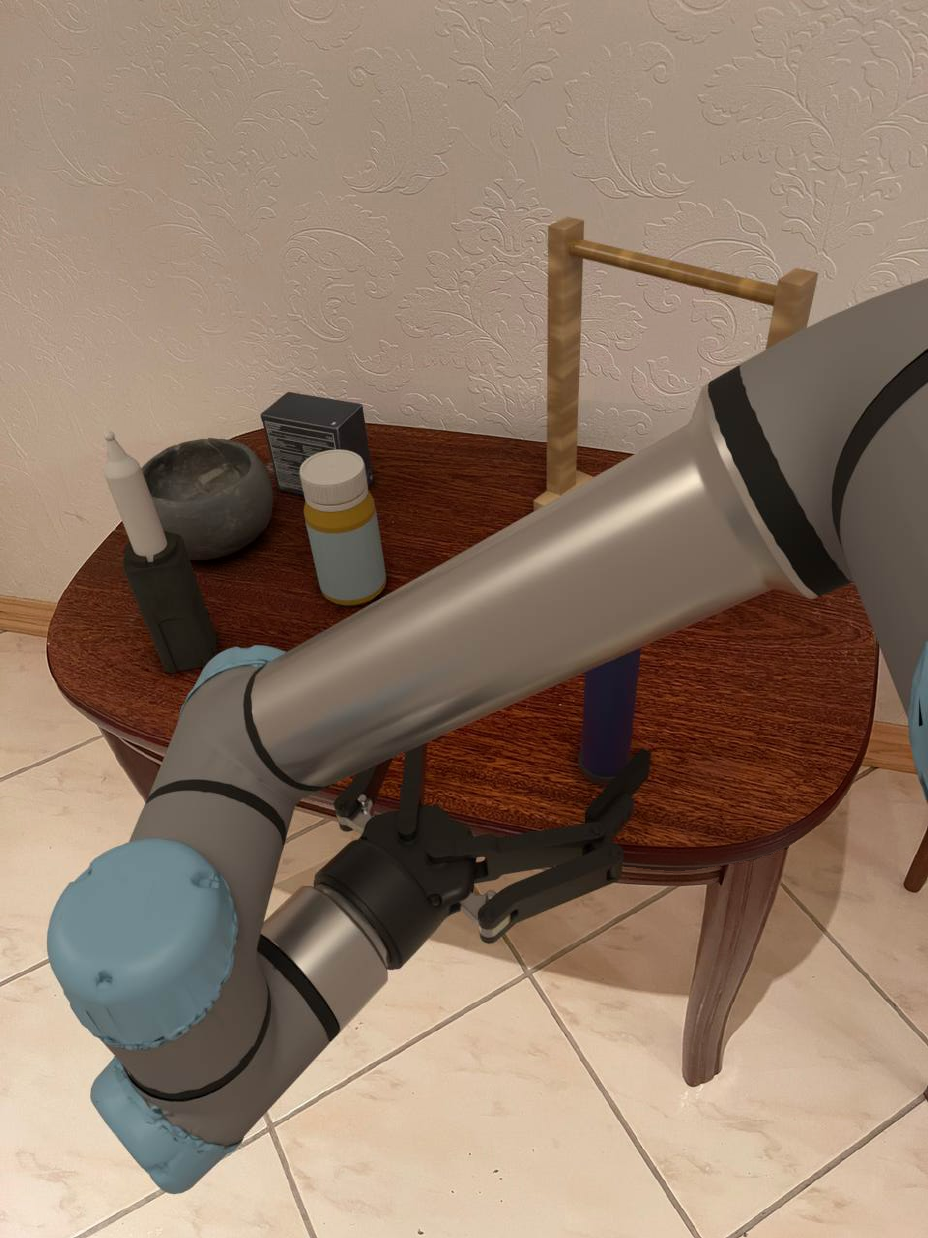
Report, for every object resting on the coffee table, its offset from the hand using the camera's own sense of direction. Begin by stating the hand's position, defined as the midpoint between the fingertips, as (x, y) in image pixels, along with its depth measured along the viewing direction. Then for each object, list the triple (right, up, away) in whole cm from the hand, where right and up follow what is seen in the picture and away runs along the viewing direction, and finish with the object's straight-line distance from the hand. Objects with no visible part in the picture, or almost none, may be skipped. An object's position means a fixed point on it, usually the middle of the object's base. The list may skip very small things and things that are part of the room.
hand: (564, 715), depth 64 cm
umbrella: (+6, -4, +12) cm, 14 cm away
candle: (-34, +3, +24) cm, 42 cm away
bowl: (-35, +16, +37) cm, 54 cm away
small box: (-24, +23, +45) cm, 56 cm away
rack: (+13, +16, +34) cm, 40 cm away
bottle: (-19, +10, +30) cm, 37 cm away
